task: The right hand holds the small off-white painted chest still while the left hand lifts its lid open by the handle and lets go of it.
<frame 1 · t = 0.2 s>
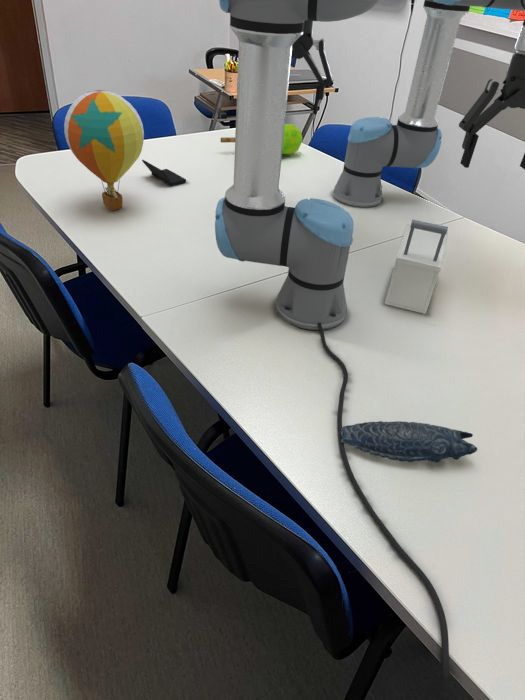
left hand: (289, 109, 135), 28 cm above the table, tool pointing down, fingers open, 13 cm apart
right hand: (494, 167, 111), 28 cm above the table, tool pointing down, fingers open, 13 cm apart
black angular piece: (164, 180, 164), on the table
lid: (427, 230, 112), point 16 cm above the table, hinge at 0.0°
decorative tree: (261, 154, 190), on the table
toy: (113, 208, 145), on the table
fish model: (403, 449, 84), on the table
chest: (409, 290, 123), on the table
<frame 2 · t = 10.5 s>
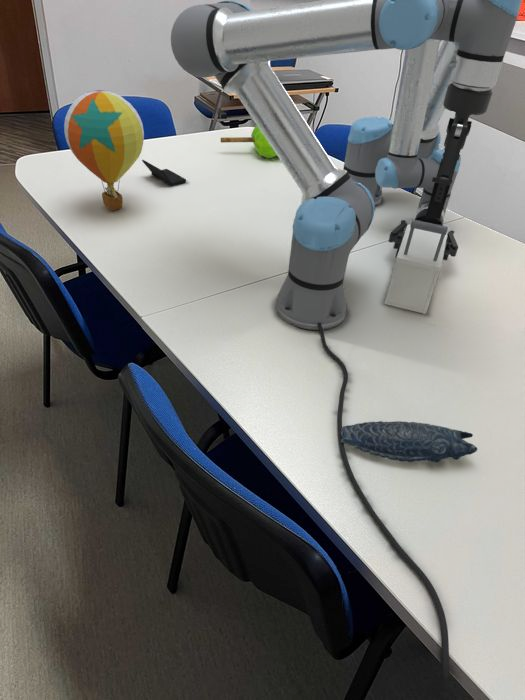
left hand: (436, 203, 102), 24 cm above the table, tool pointing down, fingers open, 13 cm apart
right hand: (419, 257, 123), 6 cm above the table, tool horizontal, fingers closed on chest, 9 cm apart
chest: (409, 290, 123), on the table, touching right hand
everything else where it was.
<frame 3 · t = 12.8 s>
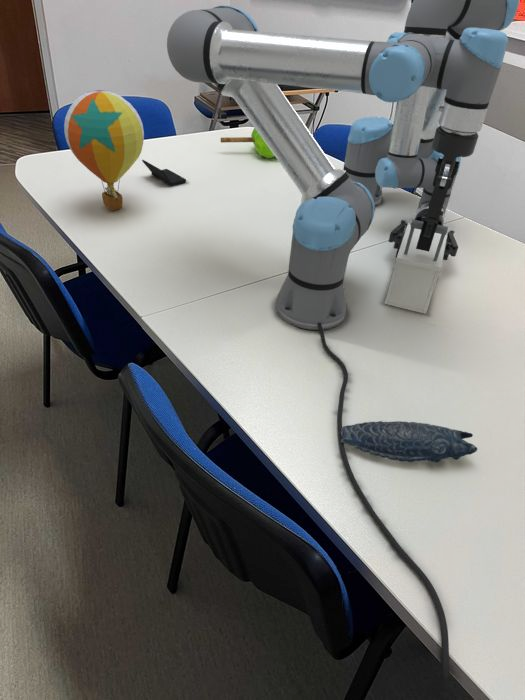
left hand: (423, 246, 108), 15 cm above the table, tool pointing down, fingers closed on lid, 2 cm apart
right hand: (419, 257, 123), 6 cm above the table, tool horizontal, fingers closed on chest, 9 cm apart
lid: (427, 230, 113), point 16 cm above the table, hinge at -0.1°, touching left hand
chest: (409, 290, 123), on the table, touching right hand
everything else where it was.
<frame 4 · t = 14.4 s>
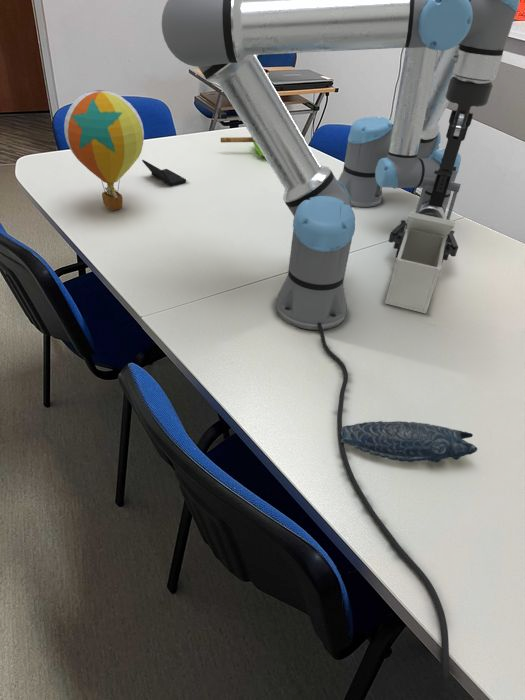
left hand: (435, 203, 108), 22 cm above the table, tool pointing down, fingers closed on lid, 2 cm apart
right hand: (419, 257, 123), 6 cm above the table, tool horizontal, fingers closed on chest, 9 cm apart
lid: (434, 207, 112), point 20 cm above the table, hinge at 30.2°, touching left hand
chest: (409, 290, 123), on the table, touching right hand
everything else where it was.
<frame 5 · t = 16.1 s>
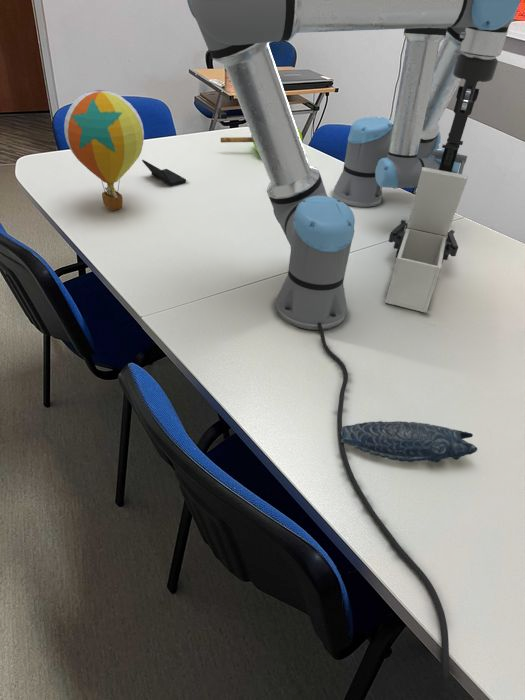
left hand: (443, 176, 114), 24 cm above the table, tool pointing down, fingers closed
right hand: (419, 257, 123), 6 cm above the table, tool horizontal, fingers closed on chest, 9 cm apart
lid: (438, 190, 115), point 21 cm above the table, hinge at 62.3°
chest: (409, 289, 122), on the table, touching right hand
everything else where it was.
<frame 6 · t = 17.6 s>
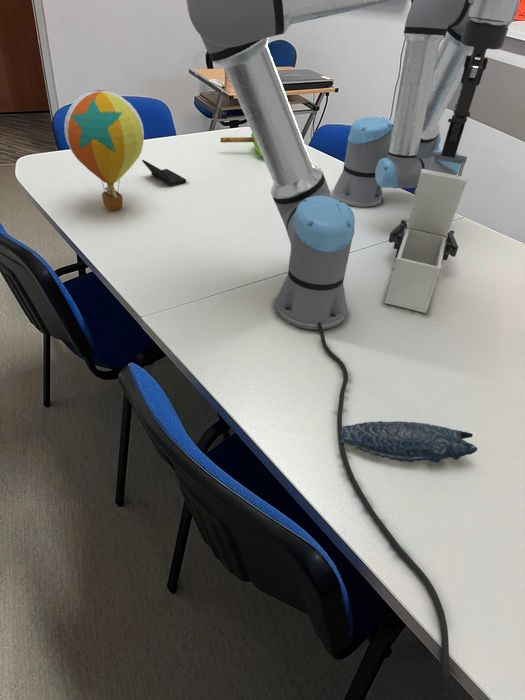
left hand: (448, 152, 108), 30 cm above the table, tool pointing down, fingers open, 5 cm apart
right hand: (419, 257, 123), 6 cm above the table, tool horizontal, fingers closed on chest, 9 cm apart
lid: (438, 191, 115), point 21 cm above the table, hinge at 61.0°
chest: (409, 290, 122), on the table, touching right hand
everything else where it was.
when the right hand's fingers open (6 cm above the table, at t = 20.2 s): chest stays where it is, on the table.
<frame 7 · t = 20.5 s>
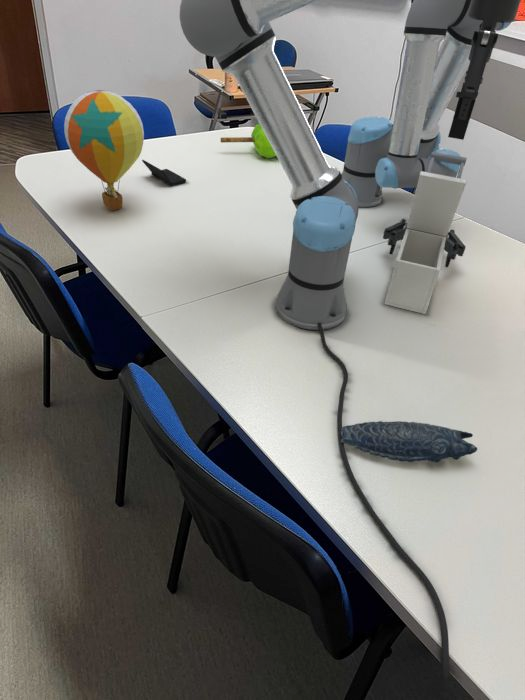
left hand: (457, 128, 97), 37 cm above the table, tool pointing down, fingers open, 13 cm apart
right hand: (419, 255, 123), 6 cm above the table, tool horizontal, fingers open, 13 cm apart
lid: (438, 192, 115), point 21 cm above the table, hinge at 60.1°
chest: (409, 290, 122), on the table
everything else where it was.
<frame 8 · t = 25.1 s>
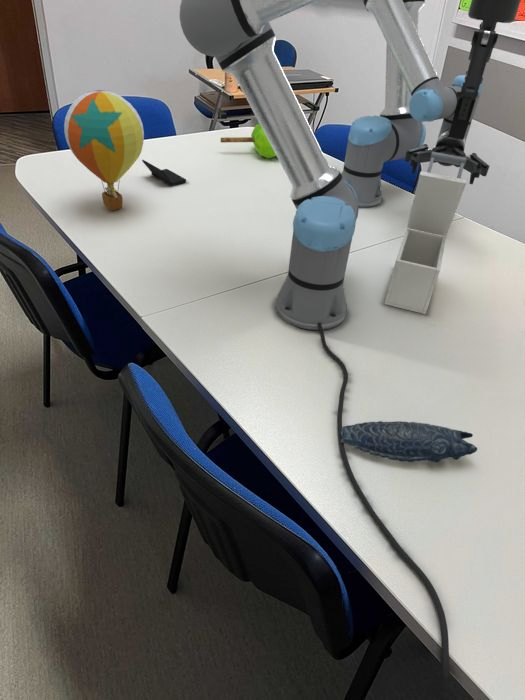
left hand: (457, 128, 97), 37 cm above the table, tool pointing down, fingers open, 13 cm apart
right hand: (443, 173, 123), 22 cm above the table, tool horizontal, fingers open, 13 cm apart
nothing on the table moved.
at the end: lid at +60° (first picture: +0°); the left hand is holding nothing; the right hand is holding nothing; chest tilted 0°; chest never tilted more than 2° during the clip; chest moved 0.1 cm from its start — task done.
